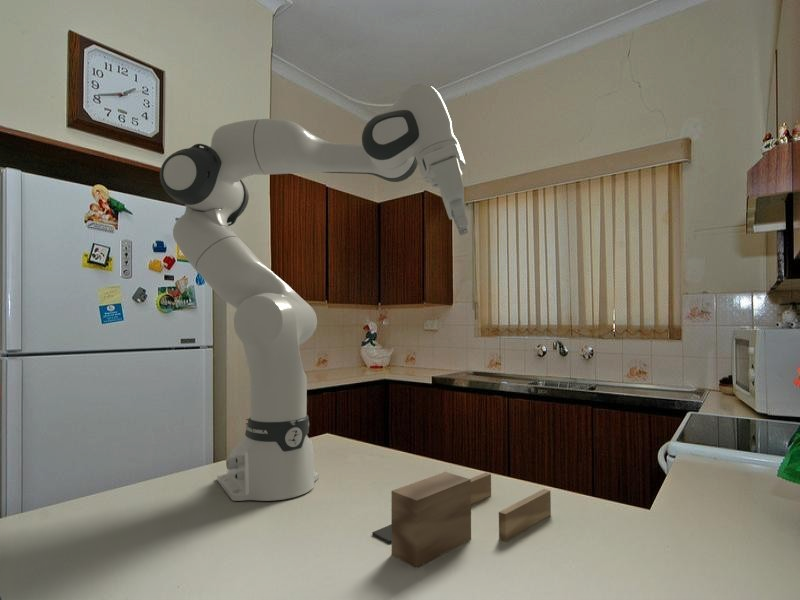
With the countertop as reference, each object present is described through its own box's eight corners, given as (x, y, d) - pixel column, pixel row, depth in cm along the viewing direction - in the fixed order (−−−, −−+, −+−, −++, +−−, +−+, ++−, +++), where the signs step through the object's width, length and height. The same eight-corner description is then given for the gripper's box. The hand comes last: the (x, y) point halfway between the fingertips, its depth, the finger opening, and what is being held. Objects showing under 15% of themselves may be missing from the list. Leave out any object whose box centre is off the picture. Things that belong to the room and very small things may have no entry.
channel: (438, 514, 78) (438, 491, 78) (485, 493, 88) (485, 472, 88) (505, 541, 68) (505, 514, 69) (550, 514, 78) (550, 490, 78)
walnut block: (391, 555, 65) (391, 490, 65) (446, 528, 73) (445, 471, 73) (417, 569, 61) (416, 500, 61) (471, 539, 69) (470, 479, 70)
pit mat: (372, 534, 71) (372, 532, 71) (399, 523, 75) (399, 520, 75) (389, 543, 68) (389, 541, 68) (417, 530, 72) (417, 528, 72)
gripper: (431, 184, 101) (450, 243, 100) (422, 153, 81) (446, 226, 80) (458, 174, 100) (478, 233, 99) (456, 140, 80) (481, 214, 79)
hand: (464, 230), depth 89 cm, fingers open, 8 cm apart
